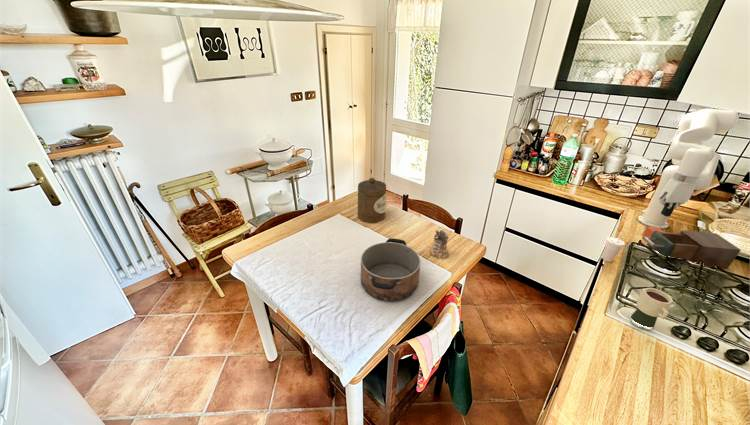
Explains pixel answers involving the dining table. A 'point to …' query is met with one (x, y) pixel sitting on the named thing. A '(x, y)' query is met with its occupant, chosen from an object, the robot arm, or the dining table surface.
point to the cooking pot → (390, 270)
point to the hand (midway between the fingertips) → (665, 215)
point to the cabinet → (712, 249)
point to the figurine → (439, 245)
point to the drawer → (672, 245)
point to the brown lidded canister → (371, 200)
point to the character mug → (651, 306)
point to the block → (650, 231)
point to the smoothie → (612, 248)
